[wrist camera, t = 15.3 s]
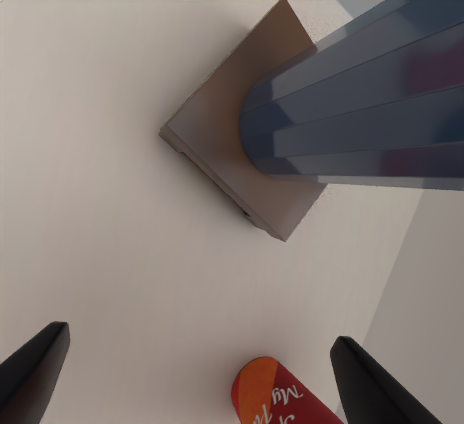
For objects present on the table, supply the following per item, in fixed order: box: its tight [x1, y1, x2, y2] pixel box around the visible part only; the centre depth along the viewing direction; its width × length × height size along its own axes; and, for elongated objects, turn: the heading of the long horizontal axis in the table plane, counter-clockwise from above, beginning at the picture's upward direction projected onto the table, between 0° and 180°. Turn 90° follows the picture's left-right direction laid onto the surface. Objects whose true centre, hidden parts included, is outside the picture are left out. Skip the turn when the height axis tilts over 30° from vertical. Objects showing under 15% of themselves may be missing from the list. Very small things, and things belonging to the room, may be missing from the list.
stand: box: [159, 0, 328, 242], centre depth 19 cm, size 11×11×4 cm
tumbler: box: [239, 0, 464, 191], centre depth 12 cm, size 7×7×12 cm
